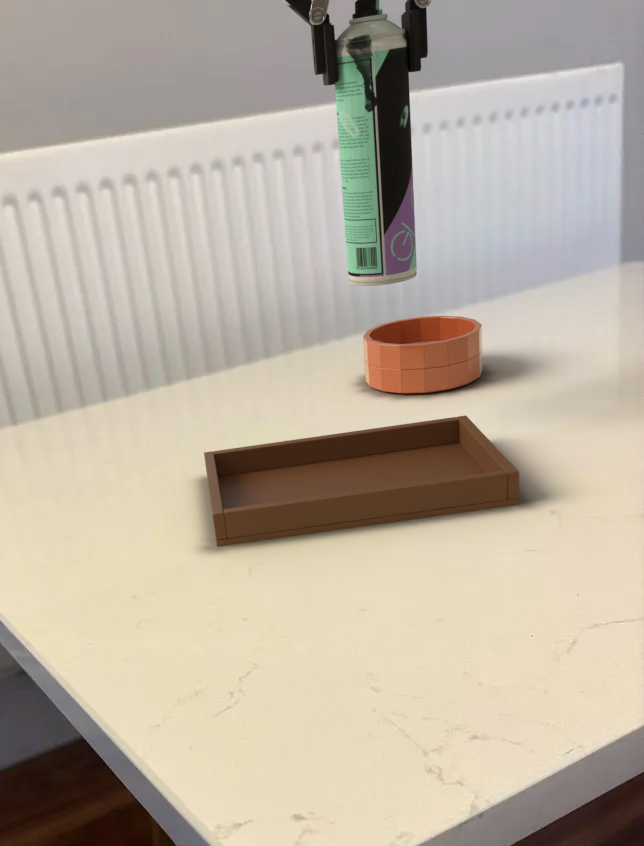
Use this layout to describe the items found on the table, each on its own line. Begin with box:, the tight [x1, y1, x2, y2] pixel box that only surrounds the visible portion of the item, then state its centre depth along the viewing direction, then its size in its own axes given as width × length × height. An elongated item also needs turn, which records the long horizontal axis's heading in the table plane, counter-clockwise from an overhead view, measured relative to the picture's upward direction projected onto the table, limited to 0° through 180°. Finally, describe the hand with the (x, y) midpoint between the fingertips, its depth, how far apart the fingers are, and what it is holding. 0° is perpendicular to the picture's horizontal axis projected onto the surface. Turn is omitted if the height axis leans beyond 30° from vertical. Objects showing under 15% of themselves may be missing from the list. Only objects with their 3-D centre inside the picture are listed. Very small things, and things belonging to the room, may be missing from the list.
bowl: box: [362, 315, 483, 395], centre depth 102 cm, size 11×11×5 cm
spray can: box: [334, 0, 418, 287], centre depth 79 cm, size 6×6×20 cm
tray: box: [203, 415, 520, 547], centre depth 78 cm, size 22×14×3 cm, turn 92°
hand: (371, 75), depth 77 cm, fingers closed on spray can, 5 cm apart
